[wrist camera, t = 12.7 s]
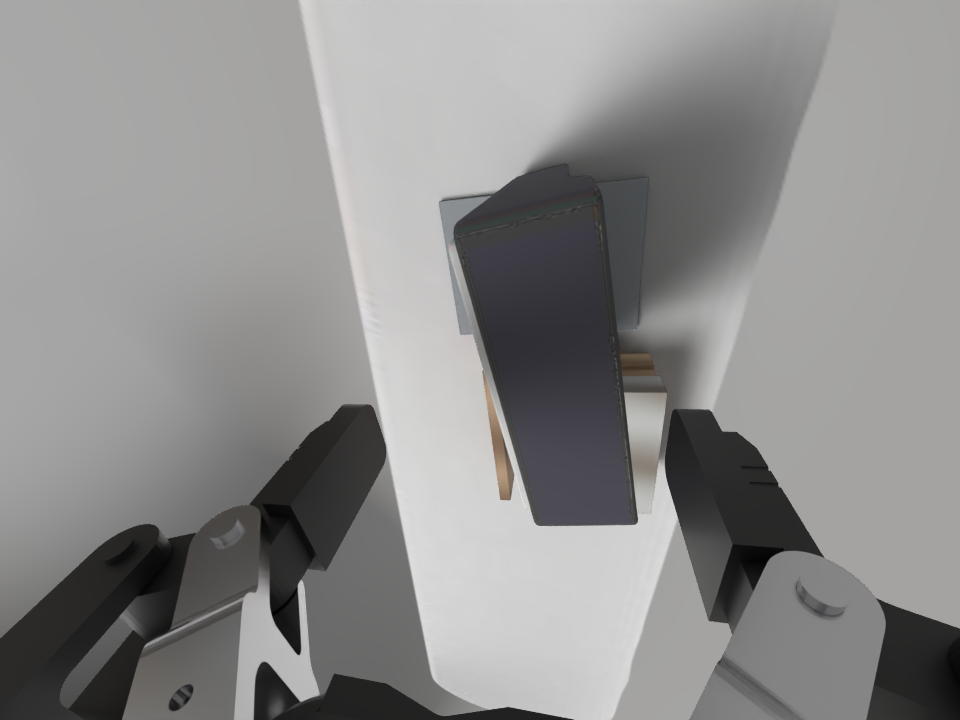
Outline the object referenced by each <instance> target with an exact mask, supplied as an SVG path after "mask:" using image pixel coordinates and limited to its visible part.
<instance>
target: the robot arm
mask: <svg viewBox="0 0 960 720" xmlns="http://www.w3.org/2000/svg"><path fill="white" fill-rule="evenodd" d="M385 458H386V445H385V441H384V438H383V435H382V432H381V429H380V426H379V423H378V420H377V417H376V414H375V411H374V409H373V407H372V406H371V405H368V404H367V405H366V404H364V405H363V404H345V405H342V406H341V407H340V408H339V409H338V411H337V412H336V413H335V414H334V416H333V417H332V418H331V419H330V420H329V421H326V422H325V423H324V424H322V425H321V426H319V427H318V428H316V429H315V430H314V431H312V432H311V433H310V434H309V435H308V436H307V437H306V438H305V440H304V441H303V442H302V443H301V444H300V445H299V449H296V450H295V451H294V452H293V454H292V455H291V456H290V457H289V461H286V462H285V463H284V464H283V465H282V467H281V468H280V469H279V470H278V471H277V472H276V474H275V475H274V476H273V477H272V478H271V479H270V481H269V482H268V483H267V484H266V485H265V487H264V488H263V489H262V490H261V491H260V492H259V494H258V495H257V496H256V497H255V498H254V500H253V501H252V502H251V503H250V504H249V505H240V506H235V507H232V508H229V509H227V510H225V511H223V512H221V513H219V514H217V515H216V516H214V517H213V518H211V519H210V520H209V521H208V522H206V523H205V524H204V525H203V526H202V527H201V528H200V529H199V530H198V532H197V533H193V534H188V535H183V536H179V537H174V538H170V539H167V538H166V537H165V536H164V535H163V533H162V532H161V531H160V530H159V529H158V528H157V527H156V526H155V525H151V524H144V525H139V526H135V527H132V528H130V529H127V530H125V531H123V532H121V533H119V534H117V535H116V536H114V537H112V538H111V539H109V540H108V541H106V542H105V543H103V544H102V545H101V546H99V547H98V548H97V549H96V550H95V551H94V552H93V553H92V554H90V555H89V556H88V557H87V558H86V559H85V560H84V561H83V562H82V563H81V564H80V565H79V566H78V567H77V568H75V569H74V570H73V571H72V572H71V573H70V574H69V575H68V576H67V577H66V578H65V579H64V580H63V581H62V582H60V583H59V584H58V585H57V586H56V587H55V588H54V589H53V590H52V591H51V592H50V593H49V594H48V595H46V596H45V597H44V598H43V599H42V600H41V601H40V602H39V603H38V604H37V605H36V606H35V607H34V608H33V609H32V610H30V611H29V612H28V613H27V614H26V615H25V616H24V617H23V618H22V619H21V620H20V621H19V622H18V623H16V624H15V625H14V626H13V627H12V628H11V629H10V630H9V631H8V632H7V633H6V634H5V635H4V636H3V637H2V638H0V720H573V719H568V718H562V717H557V716H552V715H547V714H542V713H536V712H531V711H526V710H521V709H516V708H510V707H506V708H499V709H492V710H486V711H480V712H472V713H465V714H458V715H452V716H440V715H437V714H435V713H433V712H432V711H430V710H428V709H427V708H425V707H423V706H422V705H420V704H419V703H417V702H415V701H414V700H412V699H411V698H409V697H407V696H406V695H404V694H402V693H401V692H399V691H398V690H396V689H394V688H392V687H391V686H389V685H388V684H385V683H379V682H374V681H369V680H364V679H359V678H354V677H348V676H343V675H338V674H334V675H333V678H332V680H331V683H330V685H329V687H328V689H327V692H326V693H324V694H321V695H320V694H319V690H318V686H317V683H316V680H315V678H314V675H313V672H312V668H311V663H310V655H309V641H308V628H307V616H306V602H305V589H304V584H303V582H302V581H301V579H302V577H303V576H304V574H305V572H306V570H307V569H312V570H320V571H326V570H327V568H328V566H329V564H330V563H331V561H332V559H333V557H334V555H335V553H336V551H337V550H338V548H339V546H340V544H341V542H342V541H343V539H344V537H345V535H346V533H347V531H348V529H349V528H350V526H351V524H352V522H353V520H354V519H355V517H356V515H357V513H358V511H359V509H360V508H361V506H362V504H363V502H364V500H365V498H366V497H367V495H368V493H369V491H370V489H371V487H372V486H373V484H374V482H375V480H376V478H377V477H378V474H379V473H380V471H381V469H382V467H383V465H384V463H385ZM665 471H666V478H667V482H668V486H669V489H670V492H671V496H672V499H673V502H674V506H675V509H676V513H677V516H678V519H679V523H680V526H681V529H682V533H683V536H684V539H685V543H686V546H687V550H688V553H689V556H690V559H691V563H692V566H693V569H694V573H695V576H696V579H697V583H698V586H699V590H700V593H701V596H702V600H703V603H704V607H705V610H706V613H707V617H708V620H709V621H714V622H722V623H729V626H730V629H731V632H732V637H731V639H730V642H729V644H728V646H727V648H726V650H725V652H724V654H723V656H722V658H721V660H720V661H719V662H718V663H717V665H716V666H715V668H714V671H713V672H712V674H711V677H710V678H709V680H708V682H707V684H706V686H705V689H704V691H703V693H702V695H701V697H700V699H699V701H698V703H697V705H696V707H695V709H694V711H693V714H692V716H691V718H690V720H960V629H959V628H956V627H953V626H951V625H948V624H945V623H942V622H939V621H936V620H933V619H930V618H927V617H924V616H921V615H919V614H915V613H913V612H910V611H907V610H904V609H901V608H898V607H895V606H893V605H890V604H888V603H885V602H883V601H881V600H879V599H877V598H875V596H874V595H873V594H872V593H871V591H870V590H869V589H868V588H867V587H866V586H865V585H864V584H863V583H862V582H861V581H860V580H859V579H858V578H856V577H855V576H854V575H853V574H851V573H850V572H848V571H847V570H845V569H844V568H843V567H841V566H839V565H837V564H836V563H834V562H832V561H830V560H827V559H825V558H824V556H823V555H822V553H821V552H820V550H819V549H818V547H817V546H816V544H815V542H814V541H813V539H812V537H811V536H810V534H809V532H808V531H807V529H806V528H805V526H804V524H803V523H802V521H801V519H800V518H799V516H798V515H797V513H796V511H795V510H794V508H793V507H792V505H791V503H790V501H789V500H788V498H787V497H786V495H785V493H784V492H783V490H782V489H781V488H780V487H779V486H778V482H777V480H776V479H775V477H774V475H773V474H772V472H771V471H769V470H768V466H767V464H766V462H765V461H764V459H763V458H762V456H761V454H760V453H759V451H758V450H757V448H756V447H755V446H753V445H752V444H751V443H750V442H748V441H747V440H746V439H745V438H743V437H742V436H741V435H739V434H738V433H737V432H722V430H721V429H720V427H719V425H718V423H717V421H716V419H715V418H714V415H713V414H712V412H711V411H710V410H700V409H674V410H673V412H672V415H671V422H670V428H669V435H668V442H667V448H666V455H665ZM118 617H120V618H121V619H122V620H123V621H124V622H126V623H127V624H128V625H129V626H130V627H131V628H132V629H133V631H132V632H131V634H130V635H129V636H128V637H127V638H126V640H125V641H124V642H123V643H122V645H121V646H120V647H119V648H118V649H117V651H116V652H115V653H114V654H113V656H112V657H111V658H110V659H109V660H108V662H107V663H106V664H105V665H104V666H103V668H102V669H101V670H100V671H99V673H98V674H97V675H96V676H95V677H94V679H93V680H92V681H91V683H90V684H89V685H88V686H87V687H86V688H85V690H84V691H83V692H82V693H81V695H80V696H79V697H78V698H77V699H76V701H75V702H74V703H73V704H72V706H71V707H70V708H69V709H67V708H65V707H64V706H63V705H62V704H61V702H60V698H59V697H60V690H61V688H62V685H63V683H64V681H65V679H66V678H67V676H68V675H69V673H70V672H71V671H72V670H73V669H74V668H75V667H76V665H77V664H78V663H79V662H80V661H81V660H82V659H83V657H84V656H85V655H86V654H87V653H88V652H89V650H90V649H91V648H92V647H93V646H94V645H95V644H96V642H97V641H98V640H99V639H100V638H101V637H102V636H103V634H104V633H105V632H106V631H107V630H108V629H109V628H110V626H111V625H112V624H113V623H114V622H115V621H116V619H117V618H118Z"/></svg>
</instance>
